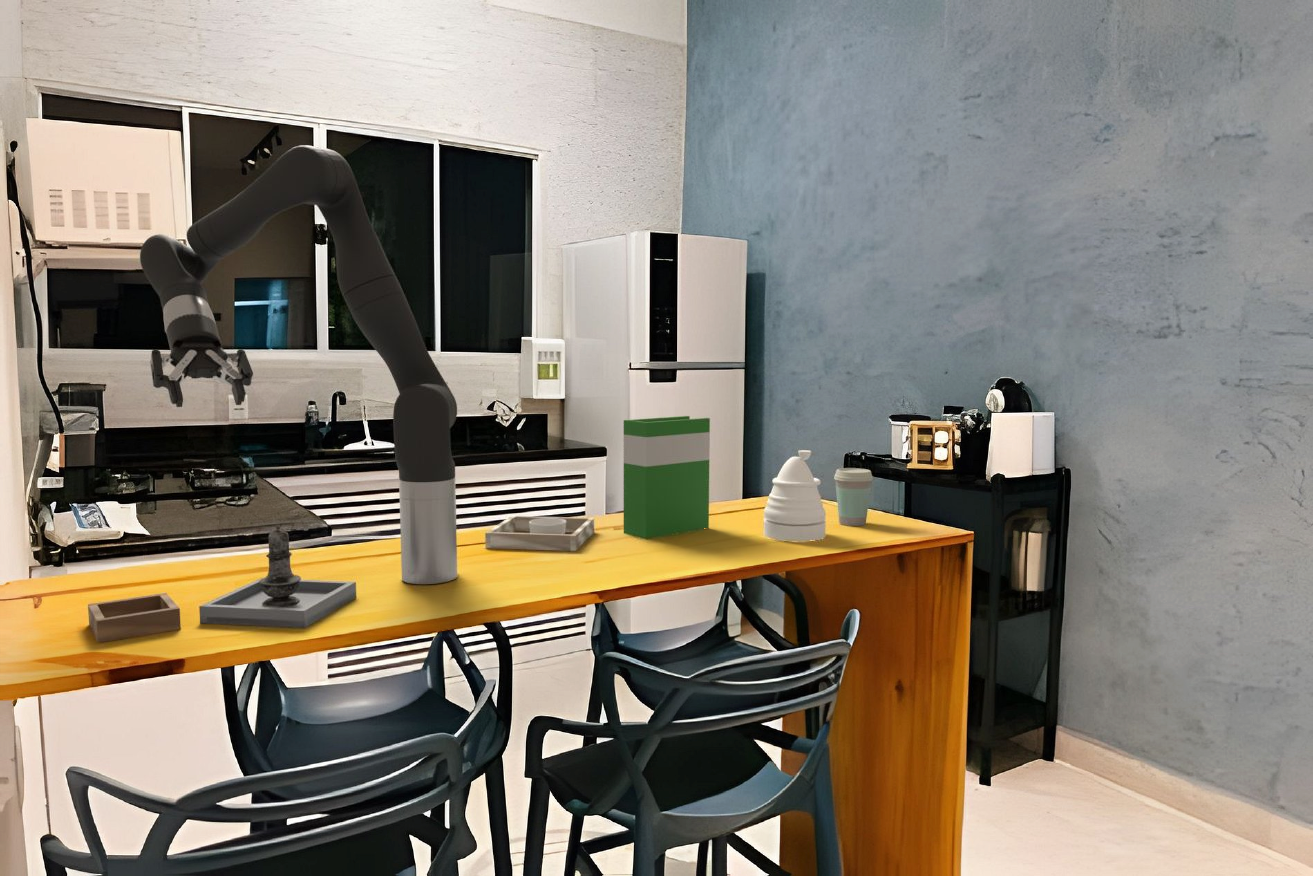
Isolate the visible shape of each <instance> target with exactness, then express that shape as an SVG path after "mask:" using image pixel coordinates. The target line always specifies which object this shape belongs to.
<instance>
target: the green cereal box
mask: <svg viewBox="0 0 1313 876" xmlns="http://www.w3.org/2000/svg"><path fill="white" fill-rule="evenodd" d="M710 420H711V418H710V417H700V418H690V415H683V416H669V417H668V416H667V417H655V418H654V417H652V418H639V419H638V418H636V419H624V420H623V534H625V535H629V536H632V537H636V538H639V537H640V538H639V539H644V540H648V539H649V538H650V539H654V538H653V537H655V538H661V537H666V536H665V535H667V536H672V534H673V535H677V534H676V533H679V534H683V533H689V532H688V531H690V532H696V531H701V529H702V530H705V529H704V528H708V529H710V523H709V522H710V439H711V438H710V437H711V436H710V433H711V429H710V425H711V424H710V423H711V421H710ZM660 536H661V537H660Z"/></svg>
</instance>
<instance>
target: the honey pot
mask: <svg viewBox="0 0 1313 876" xmlns="http://www.w3.org/2000/svg"><path fill="white" fill-rule="evenodd" d="M797 452H798V456H791V457H790V458H789V459H787V460H786V461H785V462H784V464H783V465H782V467H781V469H780V470H779V473H778V474H777V476H776V477H774V478H773V479H772V484H773V486H772V489H771V492H770V493H769V495H768V499H767V502H766V506H765V507H764V510H763V535H765V536H764V537H765V538H766V537H769V538H772V539H775V540H774V541H777V540H785V541H810V540H819V541H821V540H820V539H822V538H824V537H825V538H826V525H827V524H826V515H827V514H826V509H825V508H824V506H823V505H824V504H823V501H822V496H821V494H820V492H819V489H818V486H820V485H821V479H819V478H817V477H814V475H813V474H812V471H811V470H810V467H809V466H808V464H807V463H806V462H805V461H807V460H808V459H809V458H810V457H811V454H812V450H804V449H800V450H798V451H797ZM825 538H824V539H825ZM772 539H771V540H772ZM822 540H823V539H822Z"/></svg>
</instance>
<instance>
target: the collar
mask: <svg viewBox="0 0 1313 876" xmlns="http://www.w3.org/2000/svg"><path fill="white" fill-rule="evenodd" d="M87 611H88V623H89V624H88V626H89V627H90V629H91V631H92V633H93V635H94V637H95V639H96V641H97V643H98V644H100V643H106V642H112V641H119V640H124V639H130V638H137V637H141V636H148V635H153V634H154V635H155V634H161V633H167V632H173V631H178V630H181V629H182V628H181V627H182V626H181V625H182V624H181V612H180V611H181V610H180V607H179V605H177V603H175V601H174V600H173V599H172V598H171V597H170V596H169V594H168V593H167V592H165V593H164V592H163V593H156V594H149V595H142V596H135V597H130V598H122V599H115V600H110V601H109V600H108V601H100V602H94V603H88V604H87Z"/></svg>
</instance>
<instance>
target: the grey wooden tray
mask: <svg viewBox="0 0 1313 876" xmlns="http://www.w3.org/2000/svg"><path fill="white" fill-rule="evenodd" d="M540 518H558V519H563V520H566V529H565V534H538V533H530V526H529V521H531V520H534V519H540ZM573 532H574V533H573ZM567 533H571V534H567ZM594 533H595V518H594V517H563V516H559V517H558V516H531V515H530V516H529V515H528V516H525V515H510V516H509V517H507V518H506V519H505V520H503V521H501V522H500V523H498V524H497V525H496V526H494V527H492V528H491V529H489V530H488V531H485V533H484V536H485V537H484V540H485V541H484V542H485V543H484V545H485V549H501V550H502V549H504V550H506V549H508V550H531V551H533V550H534V551H537V550H539V551H559V552H560V551H564V552H569V551H570V552H576V551H578V549H579V548H580V547H581V546H582V545H583V544H584V543H585V542H587V540H588V539H589V538H590V537H591V536H592V535H593V534H594Z"/></svg>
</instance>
